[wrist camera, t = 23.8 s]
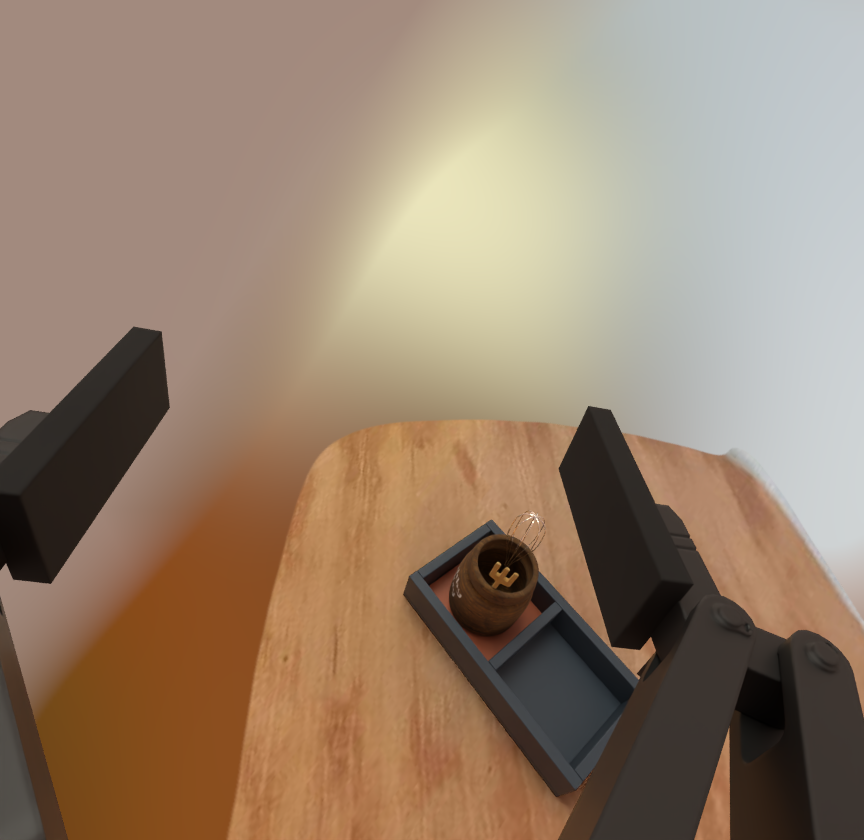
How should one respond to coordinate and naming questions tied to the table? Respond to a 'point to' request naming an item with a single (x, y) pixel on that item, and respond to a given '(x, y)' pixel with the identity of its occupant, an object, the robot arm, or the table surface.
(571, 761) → the tray
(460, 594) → the utensil holder
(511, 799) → the table surface
